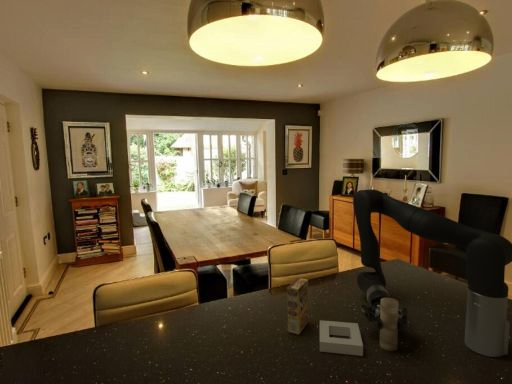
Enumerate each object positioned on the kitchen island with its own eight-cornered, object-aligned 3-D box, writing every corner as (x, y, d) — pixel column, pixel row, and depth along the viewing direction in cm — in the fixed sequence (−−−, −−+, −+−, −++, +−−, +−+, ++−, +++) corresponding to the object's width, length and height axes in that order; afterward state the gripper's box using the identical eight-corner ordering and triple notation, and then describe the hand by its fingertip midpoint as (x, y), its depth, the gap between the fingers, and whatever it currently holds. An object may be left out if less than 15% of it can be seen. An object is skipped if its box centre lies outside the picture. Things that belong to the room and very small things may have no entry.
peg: (394, 342, 92) (396, 298, 91) (399, 352, 88) (400, 305, 86) (378, 340, 93) (379, 297, 92) (381, 350, 89) (382, 304, 87)
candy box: (299, 335, 97) (299, 289, 95) (287, 332, 99) (286, 286, 97) (308, 322, 105) (308, 279, 103) (297, 319, 107) (297, 277, 105)
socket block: (357, 332, 98) (357, 323, 98) (362, 355, 86) (363, 346, 86) (319, 328, 100) (319, 320, 100) (319, 351, 89) (319, 341, 88)
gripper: (357, 288, 105) (365, 312, 88) (402, 291, 102) (418, 316, 85) (357, 308, 105) (364, 337, 89) (401, 312, 103) (417, 342, 86)
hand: (391, 327), depth 87 cm, fingers closed on peg, 4 cm apart
